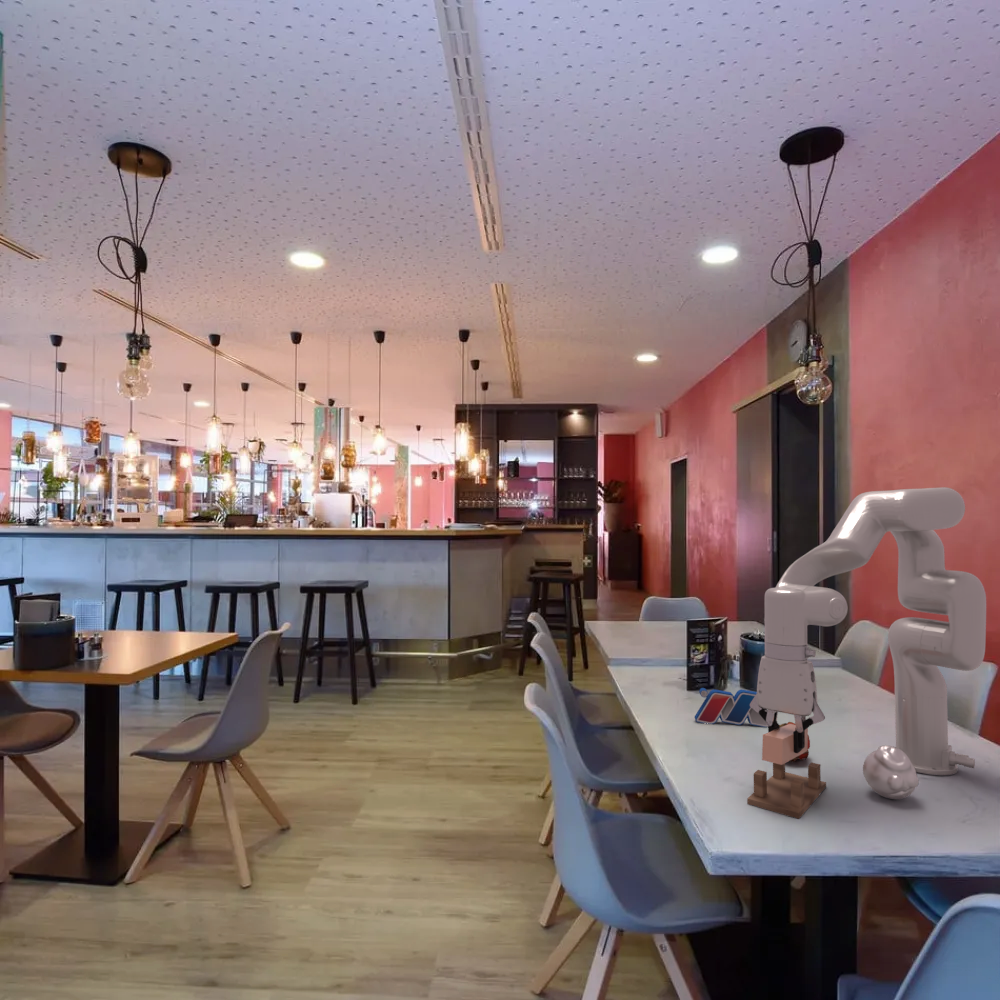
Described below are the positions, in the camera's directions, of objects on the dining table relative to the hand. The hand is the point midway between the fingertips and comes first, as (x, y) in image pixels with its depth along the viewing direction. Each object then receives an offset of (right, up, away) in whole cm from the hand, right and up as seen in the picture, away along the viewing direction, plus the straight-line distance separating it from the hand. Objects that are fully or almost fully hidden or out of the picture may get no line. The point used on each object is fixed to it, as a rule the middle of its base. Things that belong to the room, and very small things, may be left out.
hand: (786, 747), depth 120 cm
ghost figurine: (+19, -9, -1) cm, 22 cm away
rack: (0, -9, 0) cm, 9 cm away
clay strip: (0, -1, 0) cm, 1 cm away
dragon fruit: (+10, -10, +19) cm, 24 cm away
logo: (+6, -11, +43) cm, 45 cm away
